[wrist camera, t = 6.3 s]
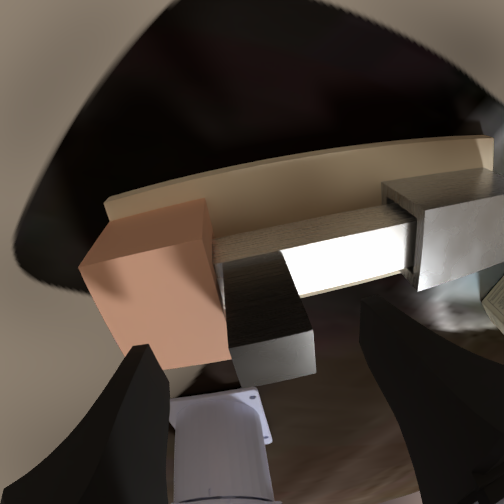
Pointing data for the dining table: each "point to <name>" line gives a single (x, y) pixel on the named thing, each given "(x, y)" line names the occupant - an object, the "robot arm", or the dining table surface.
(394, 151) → the birch board
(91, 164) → the dining table surface
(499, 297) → the skincare box
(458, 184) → the grey sleeve
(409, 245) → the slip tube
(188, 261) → the socket block
